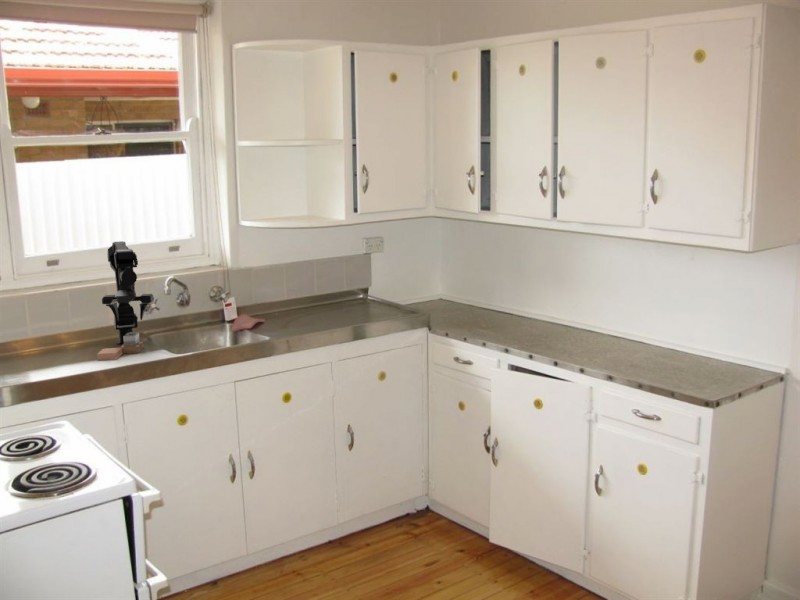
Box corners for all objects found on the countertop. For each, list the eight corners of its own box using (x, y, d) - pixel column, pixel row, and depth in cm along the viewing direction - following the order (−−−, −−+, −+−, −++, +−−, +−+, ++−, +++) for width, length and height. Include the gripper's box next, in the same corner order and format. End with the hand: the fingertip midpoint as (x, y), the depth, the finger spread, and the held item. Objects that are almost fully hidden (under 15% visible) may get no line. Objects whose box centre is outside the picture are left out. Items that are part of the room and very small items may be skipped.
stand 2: (126, 348, 340) (125, 342, 339) (143, 347, 340) (143, 341, 340) (120, 353, 331) (120, 347, 330) (138, 352, 331) (138, 346, 331)
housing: (128, 342, 338) (127, 330, 338) (139, 342, 339) (138, 330, 338) (124, 346, 331) (123, 334, 331) (135, 345, 332) (134, 334, 331)
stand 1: (104, 354, 329) (103, 348, 328) (122, 354, 329) (121, 347, 329) (97, 360, 320) (97, 353, 320) (116, 359, 321) (116, 352, 320)
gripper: (96, 285, 322) (99, 325, 325) (146, 283, 323) (149, 323, 326) (104, 281, 333) (107, 319, 336) (152, 279, 334) (155, 318, 337)
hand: (129, 320), depth 333 cm, fingers open, 9 cm apart
